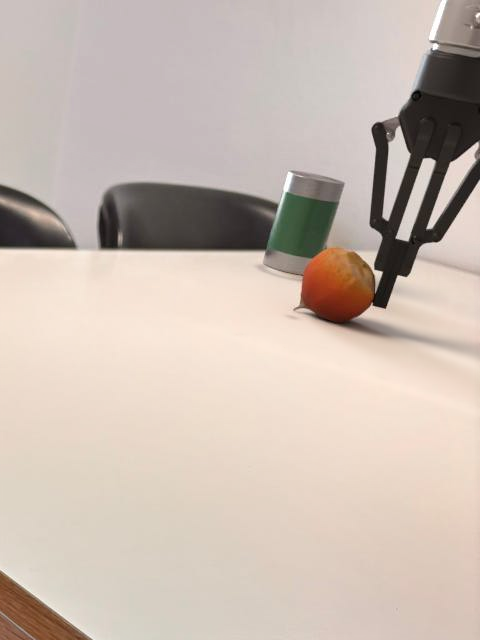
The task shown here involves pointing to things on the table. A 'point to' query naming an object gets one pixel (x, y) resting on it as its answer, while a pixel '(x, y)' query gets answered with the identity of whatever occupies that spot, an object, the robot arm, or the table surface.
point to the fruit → (337, 285)
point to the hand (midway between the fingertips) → (379, 304)
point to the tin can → (302, 221)
